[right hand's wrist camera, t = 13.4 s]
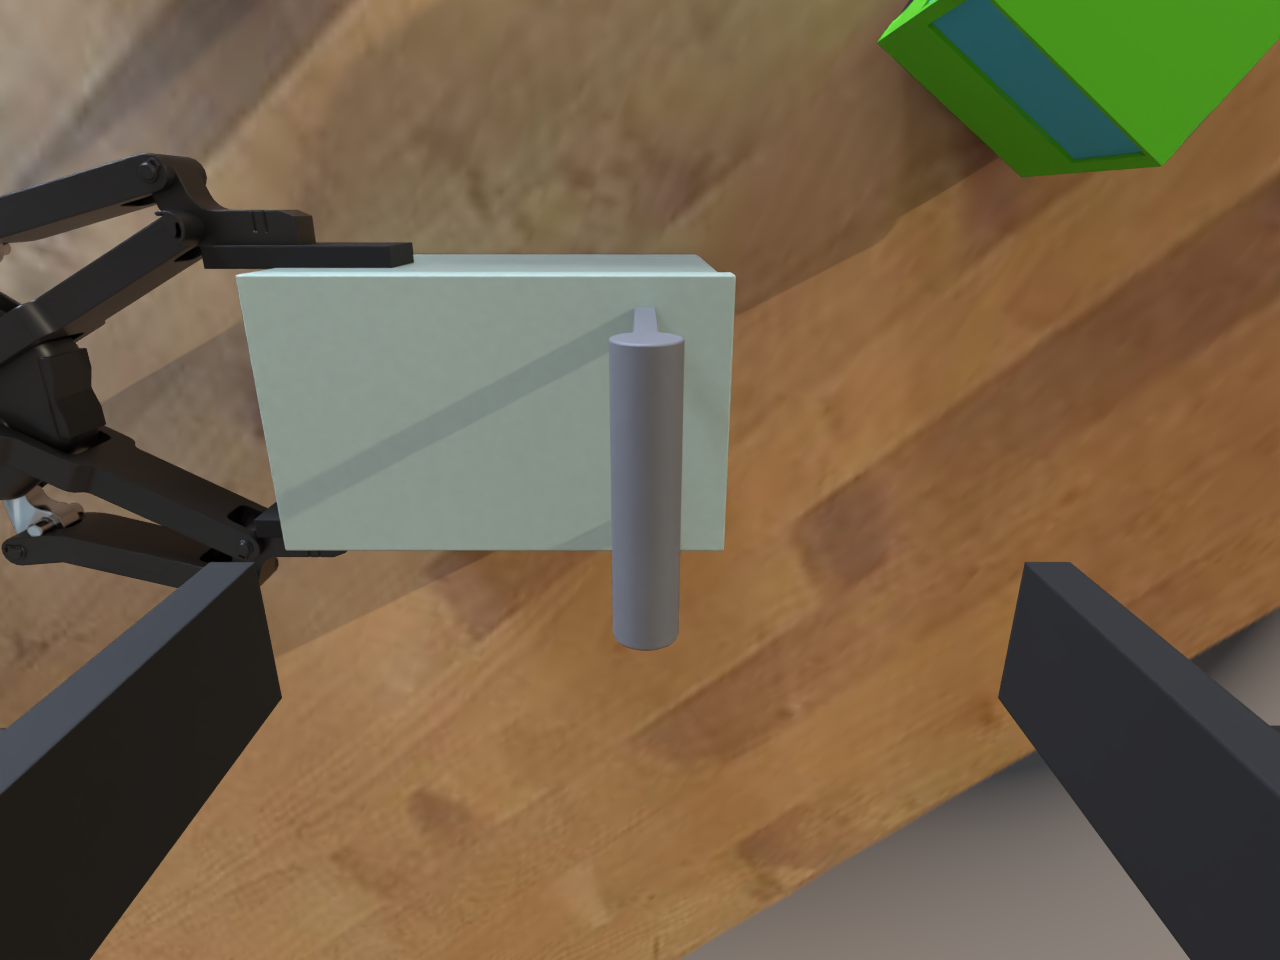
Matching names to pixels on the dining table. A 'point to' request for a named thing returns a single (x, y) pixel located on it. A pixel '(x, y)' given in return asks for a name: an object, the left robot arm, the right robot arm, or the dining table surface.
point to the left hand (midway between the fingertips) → (416, 393)
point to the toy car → (1081, 72)
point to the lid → (501, 417)
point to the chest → (536, 263)
